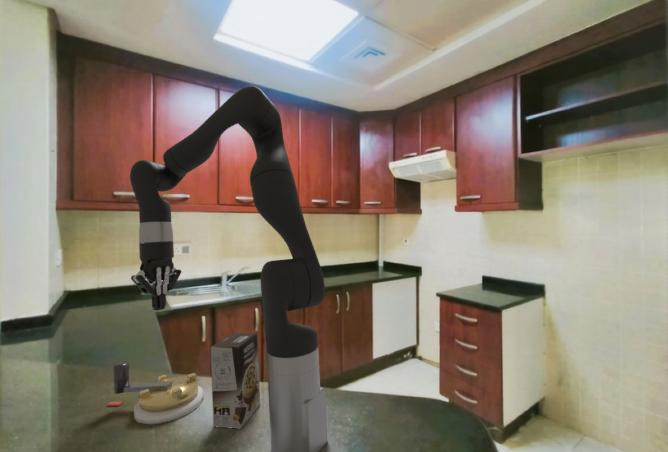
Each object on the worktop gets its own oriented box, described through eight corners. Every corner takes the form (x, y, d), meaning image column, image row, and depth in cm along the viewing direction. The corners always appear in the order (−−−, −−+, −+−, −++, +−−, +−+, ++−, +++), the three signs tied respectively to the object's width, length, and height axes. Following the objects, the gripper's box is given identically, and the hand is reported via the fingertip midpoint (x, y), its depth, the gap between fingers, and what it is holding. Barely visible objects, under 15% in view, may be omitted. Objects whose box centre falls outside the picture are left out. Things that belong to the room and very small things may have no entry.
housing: (216, 396, 74) (215, 389, 74) (160, 430, 62) (160, 423, 62) (177, 386, 81) (177, 380, 81) (120, 415, 68) (120, 408, 68)
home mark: (123, 403, 73) (122, 401, 73) (118, 406, 72) (118, 404, 72) (111, 403, 74) (111, 401, 74) (107, 406, 73) (107, 404, 73)
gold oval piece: (206, 382, 77) (205, 350, 77) (183, 410, 65) (181, 371, 65) (133, 386, 77) (131, 354, 78) (95, 414, 65) (94, 376, 66)
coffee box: (241, 430, 61) (238, 347, 61) (212, 427, 62) (208, 346, 62) (261, 404, 70) (258, 332, 70) (235, 402, 71) (232, 332, 71)
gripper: (167, 240, 86) (170, 303, 85) (120, 242, 74) (122, 316, 73) (188, 239, 83) (191, 304, 83) (142, 240, 71) (145, 316, 70)
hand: (159, 309), depth 78 cm, fingers closed
